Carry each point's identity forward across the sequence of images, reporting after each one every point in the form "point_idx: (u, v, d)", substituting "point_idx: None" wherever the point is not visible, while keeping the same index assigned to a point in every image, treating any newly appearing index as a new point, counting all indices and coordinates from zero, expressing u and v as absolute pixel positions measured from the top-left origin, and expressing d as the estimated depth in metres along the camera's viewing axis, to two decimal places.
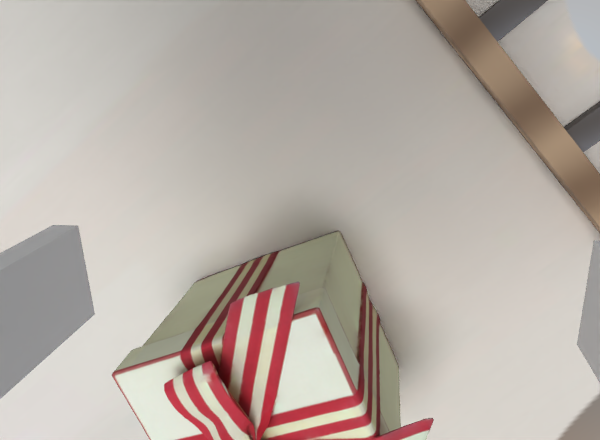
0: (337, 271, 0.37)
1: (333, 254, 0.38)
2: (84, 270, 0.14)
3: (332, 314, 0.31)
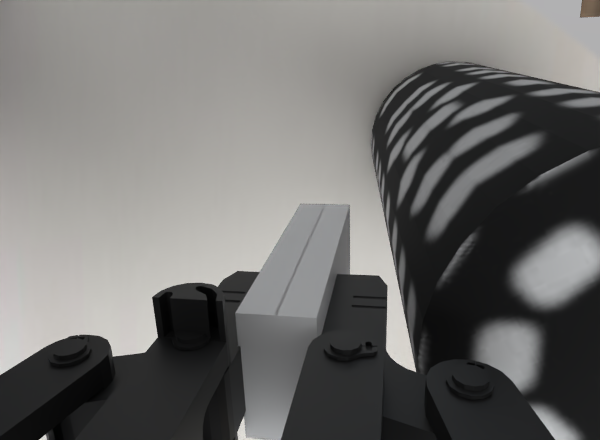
0: None
1: None
2: None
3: None
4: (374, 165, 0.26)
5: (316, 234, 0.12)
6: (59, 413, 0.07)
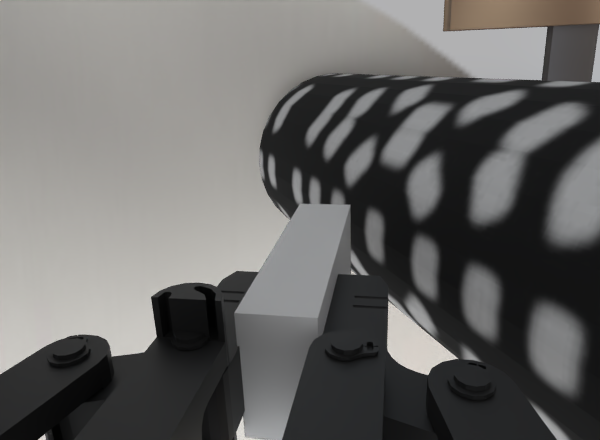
0: None
1: None
2: None
3: None
4: (275, 185, 0.24)
5: (317, 234, 0.12)
6: (58, 413, 0.07)
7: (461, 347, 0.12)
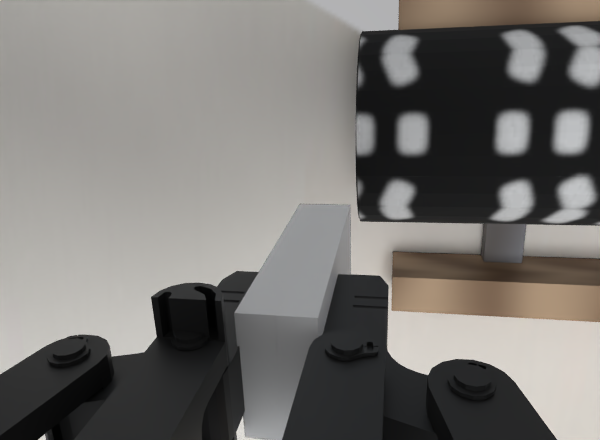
0: None
1: None
2: None
3: None
4: (420, 150, 0.19)
5: (317, 234, 0.12)
6: (58, 413, 0.07)
7: None
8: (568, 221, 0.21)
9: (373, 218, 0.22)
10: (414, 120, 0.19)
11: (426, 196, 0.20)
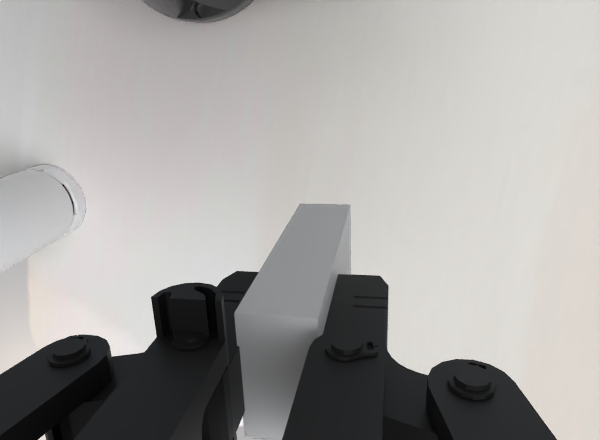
0: None
1: None
2: None
3: None
4: None
5: (317, 234, 0.12)
6: (58, 413, 0.07)
7: None
8: None
9: None
10: None
11: None
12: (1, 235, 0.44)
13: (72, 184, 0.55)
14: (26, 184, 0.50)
